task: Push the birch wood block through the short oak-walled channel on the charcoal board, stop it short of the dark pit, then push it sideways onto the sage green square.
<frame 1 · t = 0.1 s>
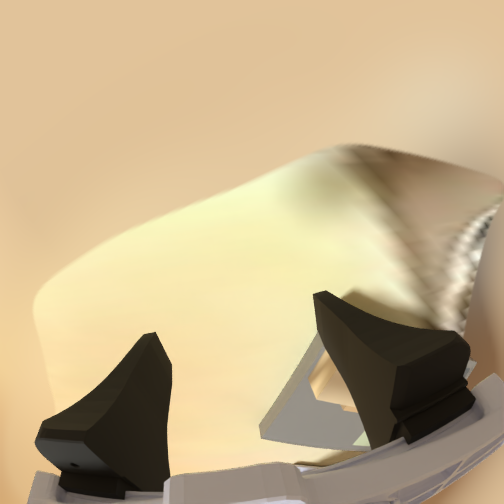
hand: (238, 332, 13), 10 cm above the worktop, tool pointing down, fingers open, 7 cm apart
birch block: (337, 365, 23), point 2 cm above the worktop, touching route board
route board: (380, 393, 27), on the worktop
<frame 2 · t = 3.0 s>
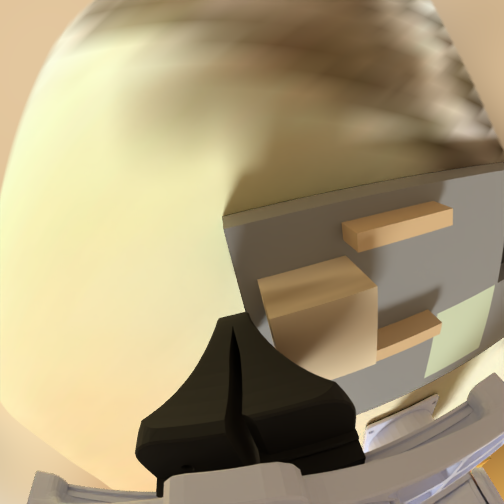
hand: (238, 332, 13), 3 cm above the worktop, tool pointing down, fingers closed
birch block: (308, 305, 13), point 2 cm above the worktop, touching gripper
route board: (424, 290, 17), on the worktop
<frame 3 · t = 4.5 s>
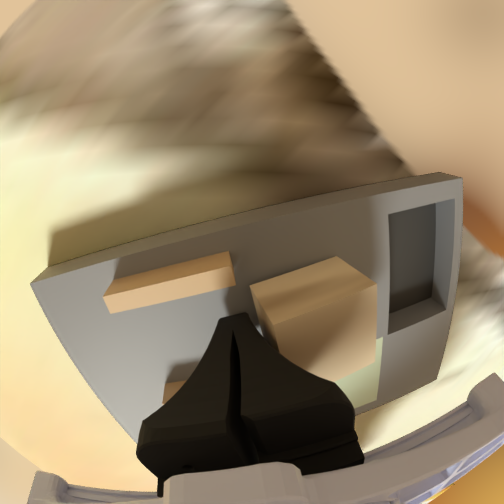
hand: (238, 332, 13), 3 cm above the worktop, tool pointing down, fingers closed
birch block: (301, 309, 13), point 2 cm above the worktop, tilted 8°, touching gripper
route board: (276, 339, 16), on the worktop
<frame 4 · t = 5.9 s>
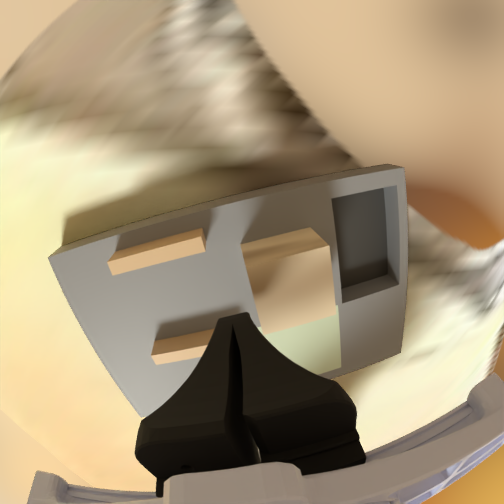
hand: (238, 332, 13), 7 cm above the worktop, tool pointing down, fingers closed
birch block: (282, 267, 17), point 2 cm above the worktop, touching route board
route board: (247, 305, 20), on the worktop
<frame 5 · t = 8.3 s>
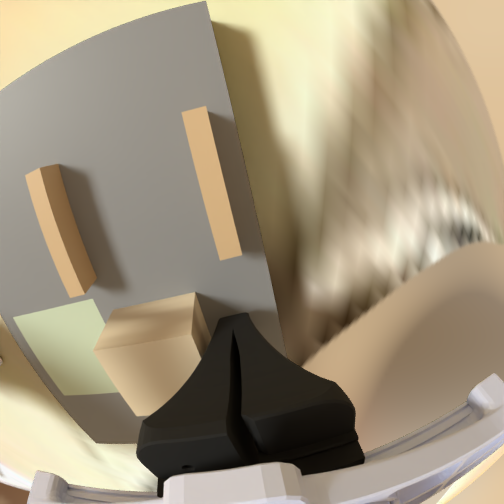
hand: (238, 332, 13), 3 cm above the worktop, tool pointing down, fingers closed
birch block: (167, 337, 13), point 2 cm above the worktop, touching gripper
route board: (115, 282, 14), on the worktop
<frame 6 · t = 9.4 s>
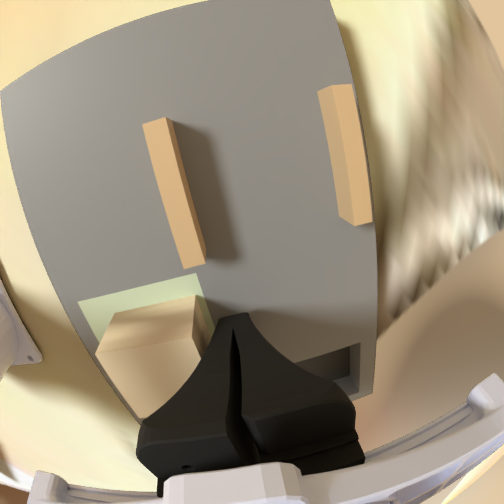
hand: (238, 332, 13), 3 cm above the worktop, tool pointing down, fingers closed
birch block: (168, 339, 13), point 2 cm above the worktop, touching gripper, route board
route board: (210, 258, 14), on the worktop
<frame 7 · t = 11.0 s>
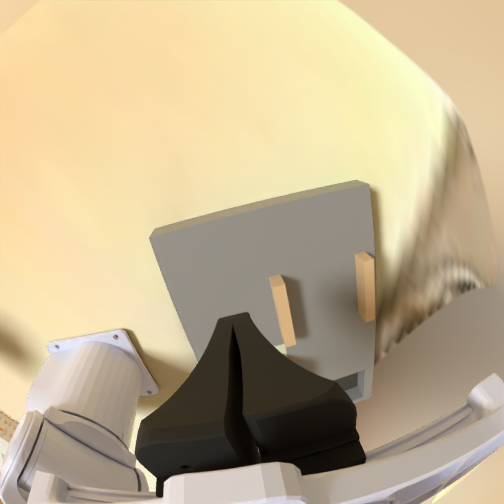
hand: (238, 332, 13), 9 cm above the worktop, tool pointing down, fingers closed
route board: (285, 330, 24), on the worktop
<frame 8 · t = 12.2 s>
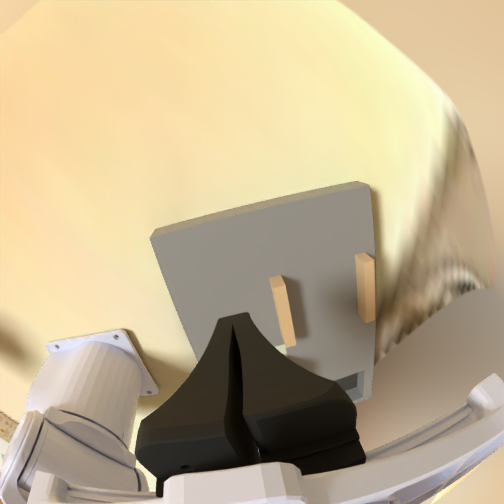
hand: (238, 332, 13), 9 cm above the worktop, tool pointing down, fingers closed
route board: (286, 330, 24), on the worktop
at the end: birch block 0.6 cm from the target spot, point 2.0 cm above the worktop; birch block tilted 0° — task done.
